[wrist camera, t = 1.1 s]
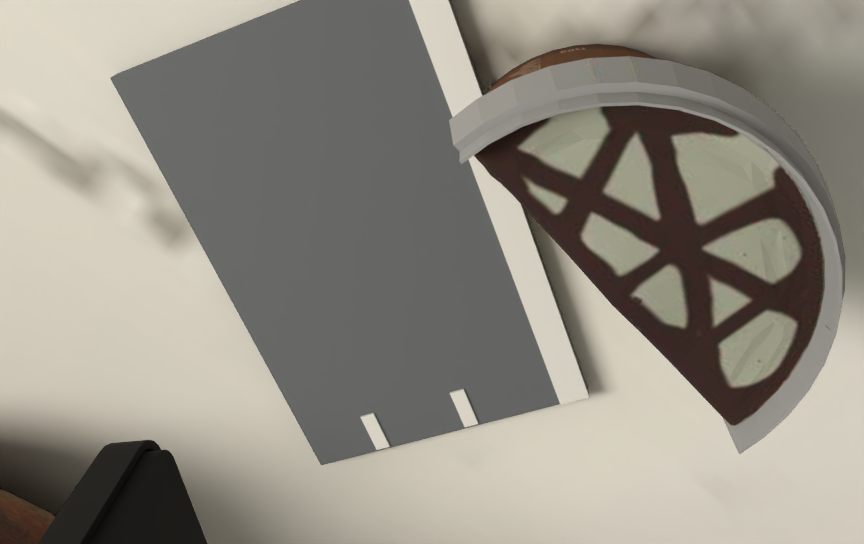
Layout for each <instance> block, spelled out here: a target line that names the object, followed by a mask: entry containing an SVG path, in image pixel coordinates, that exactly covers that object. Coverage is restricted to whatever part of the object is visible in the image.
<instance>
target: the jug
mask: <svg viewBox="0 0 864 544" xmlns="http://www.w3.org/2000/svg"><path fill="white" fill-rule="evenodd" d="M55 517H56V516H54V515H53V514H51V513H50V512H48V511H46V510H44V509H42V508H40V507H38V506H35V505H33V504H31V503H29V502H27V501H25V500H23V499H21V498H19V497H17V496H15V495H13V494H11V493H9V492H6V491H3V490H0V544H38V542H39V541H40V539H41V538H42V536H43V535H44V534H45V532H46V531H47V529H48V528H49V526H50V525H51V523H52V522H53V520H54V519H55Z"/></svg>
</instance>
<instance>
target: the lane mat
mask: <svg viewBox="0 0 864 544" xmlns="http://www.w3.org/2000/svg"><path fill="white" fill-rule="evenodd" d="M111 80H112V82H113V84H114V86H115V88H116V89H117V91H118V93H119V95H120V97H121V99H122V100H123V102H124V104H125V106H126V108H127V110H128V111H129V113H130V115H131V117H132V119H133V121H134V122H135V124H136V126H137V128H138V130H139V132H140V133H141V135H142V137H143V139H144V141H145V143H146V144H147V146H148V148H149V150H150V152H151V154H152V155H153V157H154V159H155V161H156V163H157V165H158V166H159V168H160V170H161V172H162V174H163V176H164V177H165V179H166V181H167V183H168V185H169V187H170V188H171V190H172V192H173V194H174V196H175V198H176V200H177V201H178V203H179V205H180V207H181V209H182V211H183V212H184V214H185V216H186V218H187V220H188V222H189V223H190V225H191V227H192V229H193V231H194V233H195V234H196V236H197V238H198V240H199V242H200V244H201V245H202V247H203V249H204V251H205V253H206V255H207V256H208V258H209V260H210V262H211V264H212V266H213V267H214V269H215V271H216V273H217V275H218V277H219V278H220V280H221V282H222V284H223V286H224V288H225V289H226V291H227V293H228V295H229V297H230V299H231V300H232V302H233V304H234V306H235V308H236V310H237V311H238V313H239V315H240V317H241V319H242V321H243V322H244V324H245V326H246V328H247V330H248V332H249V333H250V335H251V337H252V339H253V341H254V343H255V344H256V346H257V348H258V350H259V352H260V354H261V355H262V357H263V359H264V361H265V363H266V365H267V367H268V368H269V370H270V372H271V374H272V376H273V378H274V379H275V381H276V383H277V385H278V387H279V389H280V390H281V392H282V394H283V396H284V398H285V400H286V401H287V403H288V405H289V407H290V409H291V411H292V412H293V414H294V416H295V418H296V420H297V422H298V423H299V425H300V427H301V429H302V431H303V433H304V434H305V436H306V438H307V440H308V442H309V444H310V445H311V447H312V449H313V451H314V453H315V455H316V456H317V458H318V460H319V462H320V464H321V465H324V464H328V463H332V462H336V461H340V460H344V459H347V458H351V457H355V456H359V455H363V454H367V453H371V452H375V451H379V450H382V449H386V448H390V447H394V446H398V445H402V444H406V443H410V442H414V441H418V440H421V439H425V438H429V437H433V436H437V435H441V434H445V433H449V432H453V431H457V430H460V429H464V428H468V427H472V426H476V425H480V424H484V423H488V422H492V421H495V420H499V419H503V418H507V417H511V416H515V415H519V414H523V413H527V412H531V411H534V410H538V409H542V408H546V407H550V406H554V405H558V404H560V405H563V404H566V403H570V402H574V401H578V400H582V399H586V398H589V392H588V387H587V384H586V381H585V379H584V376H583V373H582V370H581V367H580V364H579V362H578V359H577V356H576V353H575V350H574V348H573V345H572V342H571V339H570V336H569V333H568V331H567V328H566V325H565V322H564V319H563V316H562V314H561V311H560V308H559V305H558V302H557V299H556V297H555V294H554V291H553V288H552V285H551V283H550V280H549V277H548V274H547V271H546V268H545V266H544V263H543V260H542V257H541V254H540V251H539V249H538V246H537V243H536V240H535V237H534V234H533V232H532V229H531V226H530V223H529V220H528V217H527V215H526V212H525V209H524V207H523V206H522V205H521V204H520V202H519V201H518V200H517V199H516V198H515V197H514V196H513V195H512V194H511V193H510V192H509V191H508V190H507V189H506V188H505V187H504V186H503V185H502V184H501V183H500V182H498V181H497V180H496V179H494V178H493V177H492V176H491V175H490V174H489V173H488V171H487V170H486V169H485V167H484V166H483V165H482V164H481V163H480V162H479V161H478V160H477V159H476V158H475V156H472V157H471V158H470V159H468V160H467V161H465V162H464V163H463V164H461V163H460V162H459V159H460V151H459V150H458V149H457V148H456V147H455V146H454V145H453V140H452V135H451V129H450V123H449V120H450V119H451V118H453V117H454V116H455V115H456V114H458V113H459V112H460V111H462V110H463V109H464V108H466V107H467V106H468V105H470V104H471V103H472V102H473V101H475V100H476V99H478V98H480V97H481V96H483V95H484V93H483V90H482V87H481V85H480V82H479V79H478V76H477V73H476V70H475V68H474V65H473V62H472V59H471V56H470V54H469V51H468V48H467V45H466V42H465V39H464V37H463V34H462V31H461V28H460V25H459V22H458V20H457V17H456V14H455V11H454V8H453V5H452V3H451V0H300V1H297V2H295V3H292V4H290V5H287V6H285V7H282V8H280V9H277V10H275V11H272V12H270V13H267V14H265V15H262V16H260V17H257V18H255V19H252V20H250V21H248V22H245V23H243V24H240V25H238V26H235V27H233V28H230V29H228V30H225V31H223V32H220V33H218V34H215V35H213V36H210V37H208V38H205V39H203V40H200V41H198V42H195V43H193V44H190V45H188V46H185V47H183V48H180V49H178V50H175V51H173V52H170V53H168V54H165V55H163V56H160V57H158V58H155V59H153V60H150V61H148V62H145V63H143V64H140V65H138V66H136V67H133V68H131V69H128V70H126V71H123V72H121V73H118V74H116V75H114V76H113V77H111Z"/></svg>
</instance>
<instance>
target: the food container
mask: <svg viewBox="0 0 864 544" xmlns="http://www.w3.org/2000/svg"><path fill="white" fill-rule="evenodd" d="M449 123H450V129H451V135H452V140H453V145H454V146H455V147H456V148H457V149H458V150H459V151H460V159H459V162H460V163H461V164H463V163H464V162H465V161H467V160H468V159H470V158H471V157H472V156H475V158H476V159H477V160H478V161H479V162H480V163H481V164H482V165H483V166H484V167H485V169H486V170H487V171H488V173H489V174H490V175H491V176H492V177H493V178H494V179H496V180H497V181H498V182H500V183H501V184H502V185H503V186H504V187H505V188H506V189H507V190H508V191H509V192H510V193H511V194H512V195H513V196H514V197H515V198H516V199H517V200H518V201H519V202H520V204H521V205H522V206H523V207H524V208H525V209H526V210H527V211H528V212H529V213H530V214H531V215H532V216H533V218H534V219H535V220H536V221H537V222H538V223H539V224H540V225H541V226H542V227H543V228H544V229H545V230H546V232H547V233H548V234H549V235H550V236H551V237H552V238H553V239H554V240H555V241H556V242H557V243H558V245H559V246H560V247H561V248H562V249H563V250H564V251H565V252H566V253H567V254H568V255H569V257H570V258H571V259H572V260H573V261H574V262H575V263H576V264H577V266H578V267H579V268H580V269H581V270H582V271H583V272H584V273H585V275H586V276H587V277H588V278H589V279H590V280H591V281H592V282H593V284H594V285H595V286H596V287H597V288H598V289H599V290H600V291H601V293H602V294H603V295H604V296H605V297H606V298H607V299H608V301H609V302H610V303H611V304H612V305H613V306H614V307H615V308H616V309H617V310H618V311H619V312H620V313H621V314H622V315H623V316H624V317H625V318H626V319H627V320H628V321H629V322H630V323H631V324H633V325H634V326H635V327H636V328H637V329H638V330H639V331H640V332H641V333H642V334H643V335H644V336H645V337H646V338H647V339H648V340H649V341H650V342H651V343H652V344H653V345H654V346H655V347H656V348H657V349H658V350H659V351H660V352H661V353H662V354H663V355H664V356H665V357H666V358H667V359H668V360H669V361H670V362H671V363H672V364H673V366H674V367H675V368H676V369H677V370H678V371H679V372H680V373H681V374H682V375H683V376H684V377H685V378H686V379H687V380H688V381H689V382H690V383H691V384H692V385H693V387H694V388H695V389H696V390H697V391H698V392H699V393H700V394H701V395H702V396H703V397H704V398H705V399H706V400H707V401H708V402H709V403H710V404H711V405H712V406H713V407H714V408H715V409H716V411H717V412H718V413H719V414H720V415H721V416H722V417H723V419H724V421H725V424H726V426H727V428H728V430H729V433H730V435H731V437H732V439H733V442H734V444H735V446H736V448H737V450H738V452H739V453H740V454H741V453H742V452H744V451H745V450H747V449H748V448H749V447H751V446H752V445H754V444H755V443H757V442H758V441H760V440H761V439H762V438H764V437H765V436H766V435H767V434H768V433H770V432H771V431H772V430H773V429H774V428H775V427H776V426H777V425H778V424H779V423H781V422H782V421H783V420H784V419H785V418H786V417H787V416H788V415H789V414H790V413H791V412H792V410H793V409H794V408H795V407H796V406H797V404H798V403H799V402H800V401H801V399H802V398H803V397H804V396H805V395H806V393H807V392H808V391H809V389H810V388H811V386H812V384H813V383H814V381H815V379H816V378H817V376H818V374H819V372H820V371H821V369H822V367H823V366H824V364H825V362H826V359H827V357H828V354H829V351H830V349H831V346H832V344H833V341H834V338H835V336H836V333H837V327H838V322H839V317H840V312H841V307H842V300H843V295H844V290H845V254H844V249H843V243H842V238H841V232H840V227H839V222H838V219H837V216H836V213H835V209H834V206H833V203H832V200H831V197H830V194H829V192H828V189H827V187H826V184H825V181H824V179H823V176H822V174H821V171H820V169H819V166H818V165H817V163H816V161H815V160H814V158H813V157H812V155H811V154H810V152H809V151H808V149H807V147H806V146H805V144H804V143H803V141H802V140H801V138H800V137H799V135H798V134H797V133H796V132H795V131H794V130H793V129H792V128H791V127H790V126H789V125H788V124H787V123H786V122H785V121H784V120H783V119H782V118H781V117H780V116H779V115H778V114H777V112H776V111H775V110H773V109H772V108H771V107H769V106H768V105H766V104H765V103H764V102H762V101H761V100H759V99H758V98H757V97H755V96H754V95H752V94H751V93H750V92H748V91H747V90H745V89H744V88H742V87H740V86H738V85H736V84H734V83H732V82H730V81H728V80H725V79H723V78H721V77H719V76H717V75H715V74H713V73H711V72H708V71H705V70H701V69H698V68H694V67H691V66H687V65H684V64H680V63H677V62H673V61H668V60H659V59H656V58H654V57H651V56H649V55H647V54H645V53H643V52H640V51H636V50H632V49H629V48H625V47H621V46H612V45H602V44H593V45H577V46H571V47H567V48H562V49H557V50H553V51H550V52H548V53H545V54H542V55H540V56H537V57H534V58H532V59H530V60H528V61H526V62H525V63H523V64H521V65H519V66H517V67H516V68H514V69H512V70H511V71H509V72H508V73H507V74H505V75H504V76H503V77H502V78H500V79H499V80H498V81H497V82H495V83H494V84H493V85H492V86H491V88H490V90H489V92H488V93H487V94H485V95H483V96H481V97H480V98H478V99H476V100H475V101H473V102H472V103H471V104H470V105H468V106H467V107H466V108H464V109H463V110H462V111H460V112H459V113H458V114H456V115H455V116H454V117H453V118H451V119H450V120H449Z"/></svg>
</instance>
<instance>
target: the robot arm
mask: <svg viewBox="0 0 864 544" xmlns="http://www.w3.org/2000/svg"><path fill="white" fill-rule="evenodd" d="M38 544H207V542H206V539H205V537H204V534H203V532H202V529H201V526H200V524H199V521H198V519H197V516H196V514H195V511H194V509H193V506H192V503H191V501H190V498H189V496H188V493H187V491H186V488H185V485H184V483H183V480H182V478H181V475H180V473H179V470H178V467H177V465H176V462H175V460H174V458H173V456H172V454H171V453H170V452H169V451H167V450H161V449H160V447H159V445H158V444H157V443H156V442H154V441H151V440H143V441H132V442H121V443H111V444H108V445H106V446H105V447H104V448H103V449H102V450H101V451H100V452H99V454H98V455H97V457H96V458H95V460H94V461H93V463H92V464H91V466H90V467H89V469H88V470H87V472H86V473H85V474H84V476H83V477H82V479H81V480H80V482H79V483H78V485H77V486H76V488H75V489H74V491H73V492H72V494H71V495H70V497H69V498H68V500H67V501H66V503H65V504H64V505H63V507H62V508H61V510H60V511H59V513H58V514H57V516H56V517H55V519H54V520H53V522H52V523H51V525H50V526H49V528H48V529H47V531H46V532H45V534H44V535H43V536H42V538H41V539H40V541H39V542H38Z"/></svg>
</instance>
